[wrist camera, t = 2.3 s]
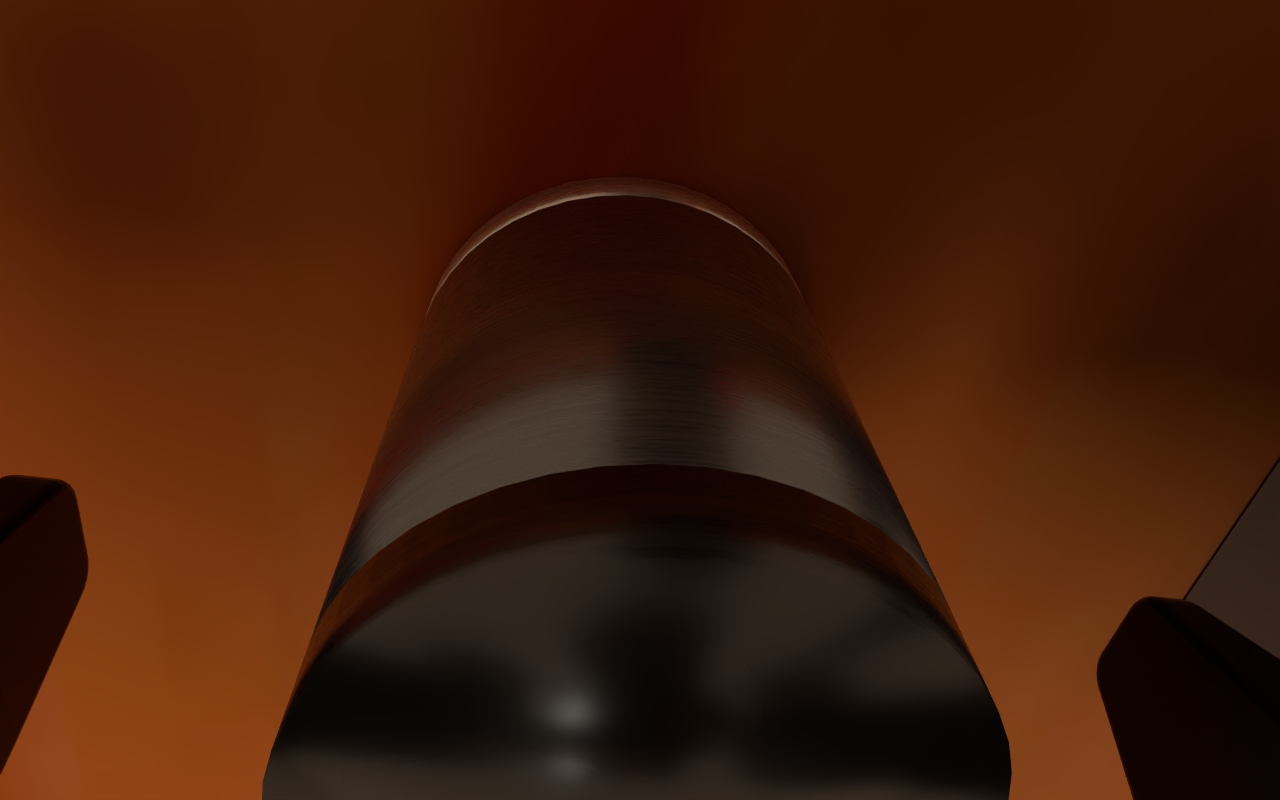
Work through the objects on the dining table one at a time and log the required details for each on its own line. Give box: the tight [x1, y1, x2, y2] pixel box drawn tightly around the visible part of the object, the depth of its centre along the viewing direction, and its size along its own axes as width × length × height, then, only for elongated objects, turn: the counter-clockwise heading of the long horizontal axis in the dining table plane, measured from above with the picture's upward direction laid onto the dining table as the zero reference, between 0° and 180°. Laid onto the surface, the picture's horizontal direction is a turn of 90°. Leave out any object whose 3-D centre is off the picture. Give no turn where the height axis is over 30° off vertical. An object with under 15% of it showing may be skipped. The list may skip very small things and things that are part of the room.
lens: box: [262, 176, 1012, 800], centre depth 8 cm, size 5×5×6 cm
